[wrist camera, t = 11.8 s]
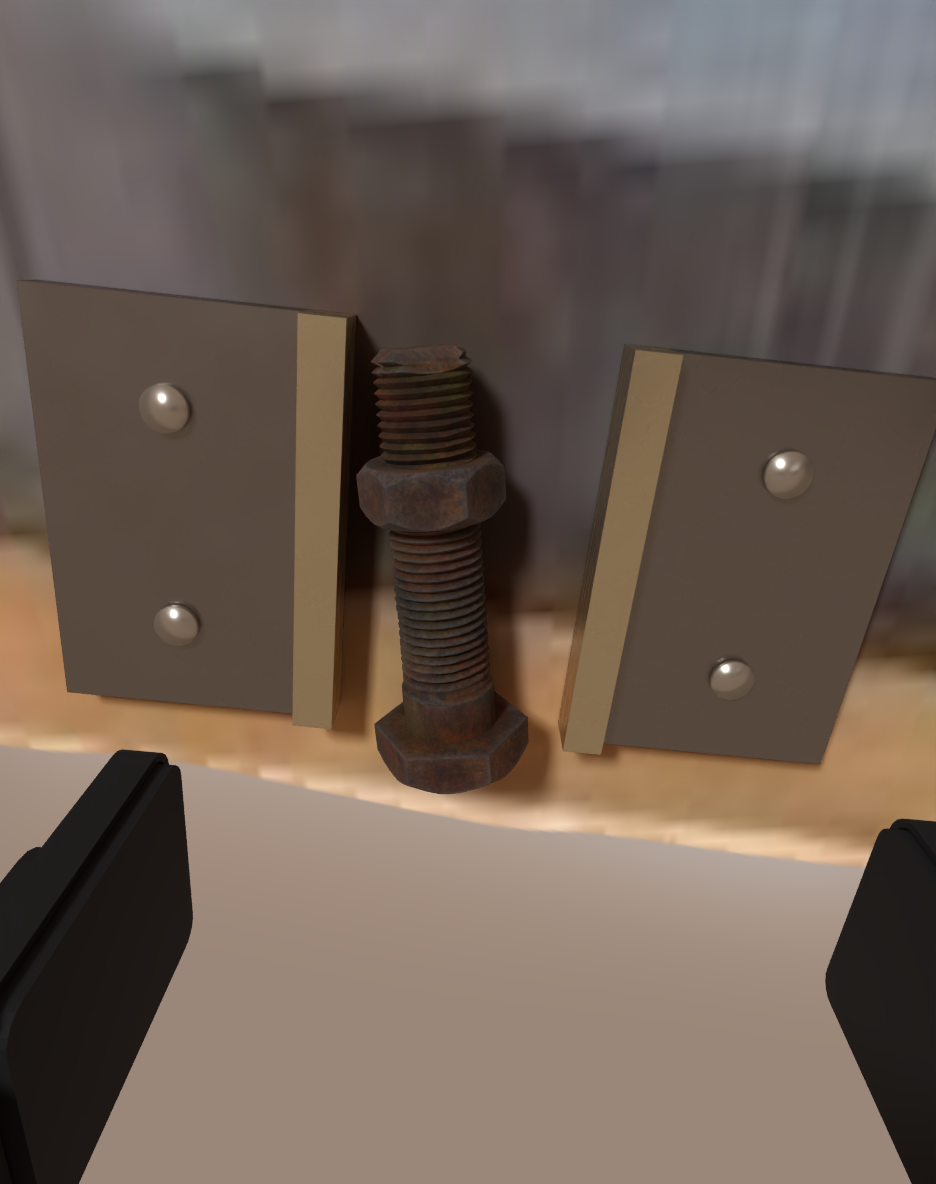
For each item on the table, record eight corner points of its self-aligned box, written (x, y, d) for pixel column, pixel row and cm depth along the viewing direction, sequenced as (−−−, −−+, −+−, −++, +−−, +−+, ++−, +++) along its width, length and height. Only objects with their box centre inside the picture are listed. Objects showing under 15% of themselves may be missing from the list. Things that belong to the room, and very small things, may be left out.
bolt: (448, 339, 27) (473, 705, 33) (314, 351, 25) (364, 741, 31) (538, 341, 23) (550, 769, 28) (381, 356, 20) (427, 817, 26)
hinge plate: (931, 377, 26) (966, 386, 24) (808, 746, 32) (828, 776, 30) (37, 279, 25) (1, 281, 23) (82, 676, 31) (56, 702, 29)
